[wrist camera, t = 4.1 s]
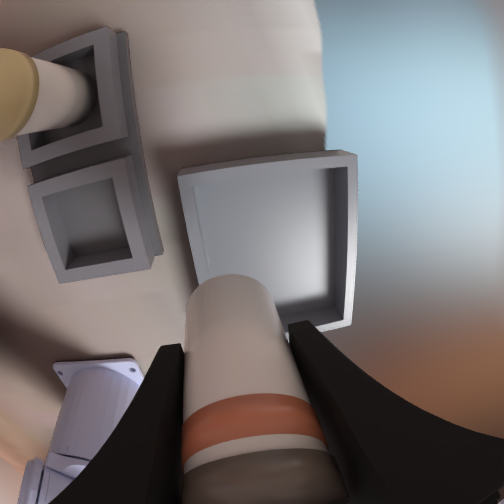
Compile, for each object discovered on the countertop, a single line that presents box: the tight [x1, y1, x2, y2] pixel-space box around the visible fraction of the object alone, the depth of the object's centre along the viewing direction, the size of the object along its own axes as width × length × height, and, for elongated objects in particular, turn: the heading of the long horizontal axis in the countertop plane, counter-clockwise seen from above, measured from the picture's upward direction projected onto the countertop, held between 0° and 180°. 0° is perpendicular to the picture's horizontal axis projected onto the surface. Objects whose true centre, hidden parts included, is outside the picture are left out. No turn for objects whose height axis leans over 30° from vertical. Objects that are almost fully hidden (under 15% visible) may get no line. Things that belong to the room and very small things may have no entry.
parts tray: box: [177, 150, 358, 339], centre depth 18 cm, size 11×9×2 cm
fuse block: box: [17, 26, 164, 284], centre depth 14 cm, size 13×7×2 cm, turn 6°
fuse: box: [0, 48, 97, 142], centre depth 9 cm, size 3×3×8 cm
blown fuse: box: [180, 274, 350, 504], centre depth 8 cm, size 3×3×8 cm
